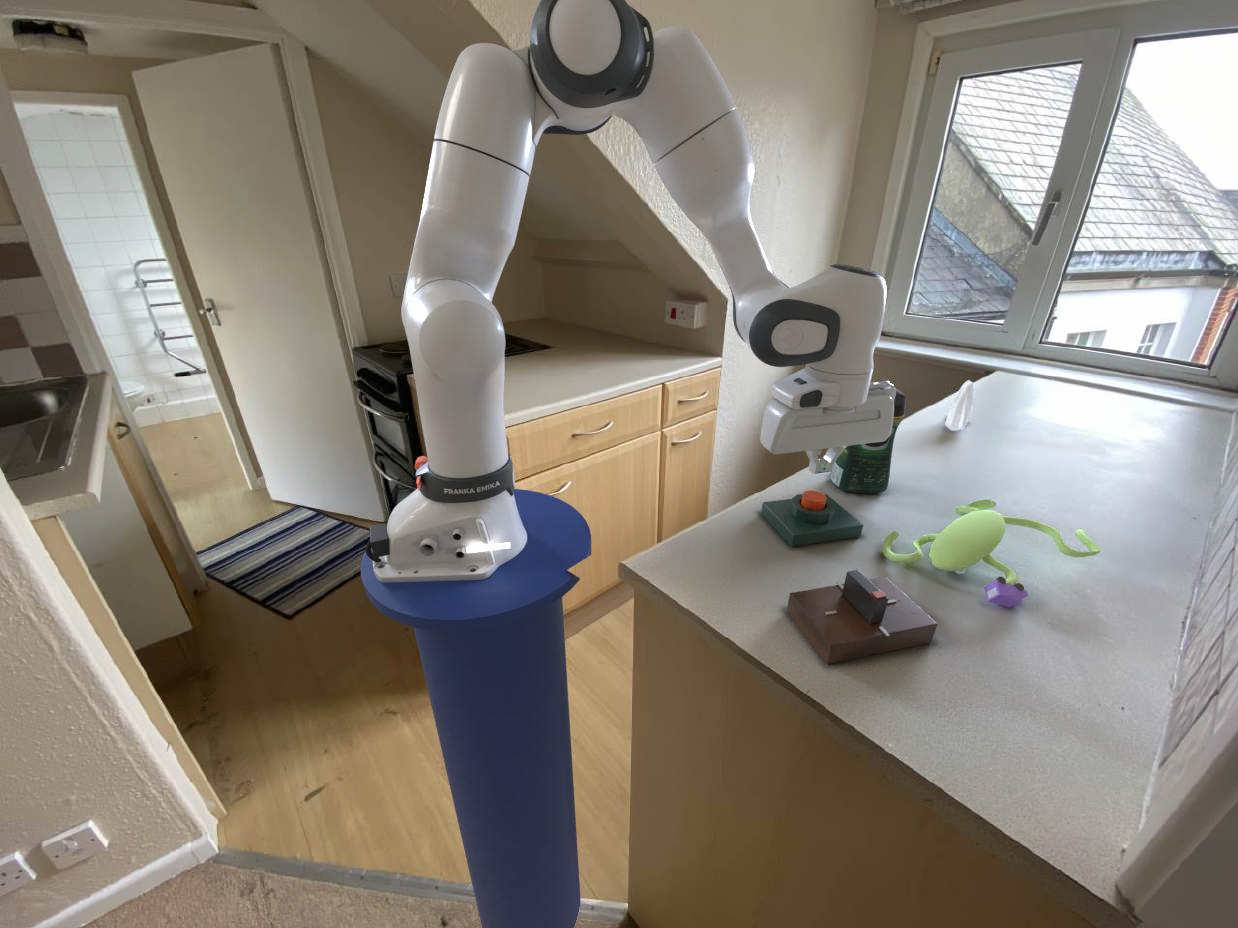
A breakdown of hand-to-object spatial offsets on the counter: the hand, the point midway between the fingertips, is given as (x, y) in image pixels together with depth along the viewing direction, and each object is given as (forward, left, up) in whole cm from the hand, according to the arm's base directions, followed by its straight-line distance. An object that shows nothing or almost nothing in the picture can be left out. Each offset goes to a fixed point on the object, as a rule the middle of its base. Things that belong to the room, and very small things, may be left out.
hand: (819, 471), depth 82 cm
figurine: (+20, -14, -10) cm, 26 cm away
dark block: (-7, -22, -7) cm, 24 cm away
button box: (0, 0, -10) cm, 10 cm away
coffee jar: (+16, +10, -10) cm, 21 cm away
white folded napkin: (+56, +29, -10) cm, 64 cm away
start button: (0, 0, -6) cm, 6 cm away
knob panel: (-7, -22, -10) cm, 25 cm away
